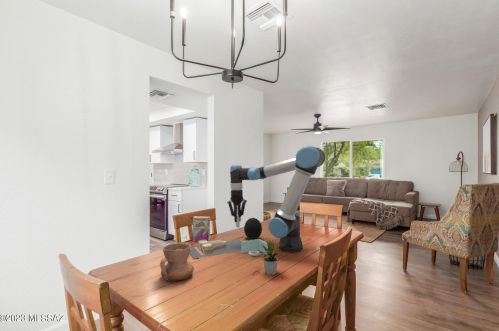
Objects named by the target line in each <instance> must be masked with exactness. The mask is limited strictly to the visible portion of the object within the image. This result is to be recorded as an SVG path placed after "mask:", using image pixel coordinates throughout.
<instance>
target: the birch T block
mask: <svg viewBox="0 0 499 331" xmlns="http://www.w3.org/2000/svg"><path fill="white" fill-rule="evenodd" d="M226 241H227V240H225V239H218V240H210V241H209V242H208V241H207V240H199V241H198V242H197V245H198V248H199V249H200V250H201V251H202V252H203V253H204V254H211V253H213V250H218V249H225V248H226Z"/></svg>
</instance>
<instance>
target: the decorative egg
mask: <svg viewBox="0 0 499 331" xmlns="http://www.w3.org/2000/svg"><path fill="white" fill-rule="evenodd" d="M243 229H244V230H243V231H244V235H245V236H246V237H247V239H248V240H256V239H260V237H261V236H262V231H263V226H262V223H261V221H260V220H259V219H258V218H256V217H249V218H248V219H247V220H246V221H245V223H244V227H243Z"/></svg>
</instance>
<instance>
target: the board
mask: <svg viewBox="0 0 499 331" xmlns="http://www.w3.org/2000/svg"><path fill="white" fill-rule="evenodd" d="M225 241H226V248H225V249H218V250H213V253H211V254H204V253H203V252H202V251H201V250H200V249H199V248H198V244H196V245H191V249H192V250H191V251H190V254H189V256H191V258H192V259H193V260H199V259H200V258H205V257H212V256H218V255H224V254H230V253H236V252H241V240H239V239H233V240H225Z"/></svg>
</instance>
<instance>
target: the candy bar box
mask: <svg viewBox="0 0 499 331" xmlns="http://www.w3.org/2000/svg"><path fill="white" fill-rule="evenodd" d="M191 229H192V235H191V236H192V237H191V240H192V242H197V243H198V241H199V240H207V241H208V242H209V241H211V216H197V215H195V216H192V228H191Z"/></svg>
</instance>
